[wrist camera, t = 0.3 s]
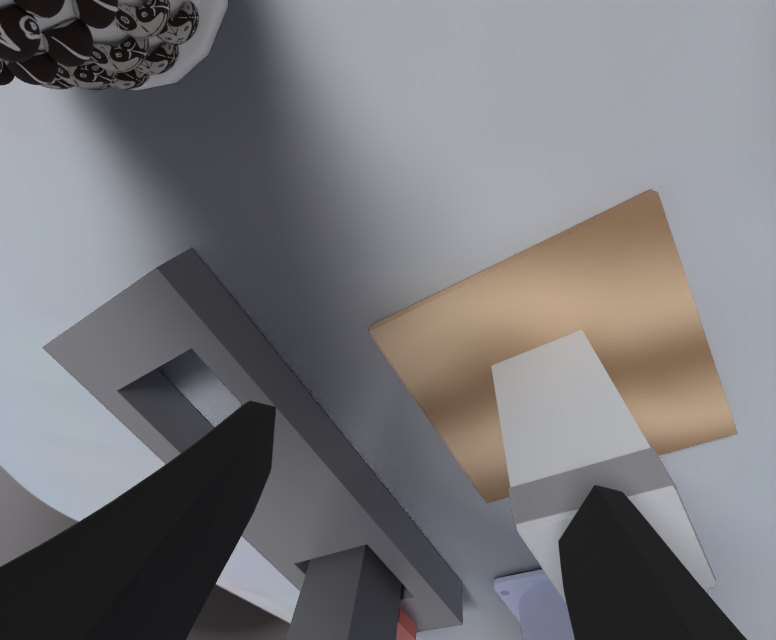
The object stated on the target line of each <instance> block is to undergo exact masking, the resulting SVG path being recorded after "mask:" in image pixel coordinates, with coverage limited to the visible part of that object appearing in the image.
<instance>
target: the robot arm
mask: <svg viewBox="0 0 776 640" xmlns="http://www.w3.org/2000/svg"><path fill="white" fill-rule="evenodd" d="M275 416H276V407H274V406H270V405H266V404H262V403H258V402H254V401H248V402H246V403H245V404H244V405H242V406H241V407H240V408H239V409H237V410H236V411H235V412H234V413H232V414H231V415H230V416H229V417H227V418H226V419H225V420H224V421H223V422H221V423H220V424H219V425H217V426H216V427H215V428H214V429H212V430H211V431H210V432H209V433H207V434H206V435H205V436H203V437H202V438H201V439H200V440H198V441H197V442H196V443H194V444H193V445H192V446H190V447H189V448H187V449H186V450H185V451H183V452H182V453H181V454H179V455H178V456H177V457H175V458H174V459H173V460H171V461H170V462H169V463H167V464H166V465H164V466H163V467H162V468H160V469H159V470H157V471H156V472H155V473H153V474H152V475H150V476H149V477H147V478H146V479H144V480H143V481H141V482H140V483H138V484H137V485H135V486H134V487H132V488H131V489H129V490H128V491H127V492H125V493H124V494H122V495H121V496H119V497H118V498H116V499H115V500H113V501H112V502H110V503H108V504H107V505H105V506H104V507H102V508H101V509H99V510H97V511H96V512H94V513H93V514H91V515H89V516H88V517H86V518H85V519H83V520H81V521H80V522H78V523H76V524H75V525H73V526H71V527H70V528H68V529H66V530H65V531H63V532H61V533H60V534H58V535H56V536H55V537H53V538H51V539H50V540H48V541H46V542H44V543H43V544H41V545H39V546H37V547H35V548H34V549H32V550H30V551H28V552H26V553H24V554H23V555H21V556H19V557H17V558H15V559H14V560H12V561H10V562H8V563H6V564H5V565H3V566H1V567H0V640H186V638H187V636H188V634H189V632H190V630H191V628H192V626H193V624H194V622H195V620H196V618H197V617H198V615H199V613H200V611H201V609H202V607H203V606H204V604H205V602H206V600H207V598H208V596H209V595H210V593H211V591H212V589H213V587H214V585H215V584H216V582H217V580H218V578H219V576H220V574H221V572H222V571H223V569H224V567H225V565H226V563H227V561H228V560H229V558H230V556H231V554H232V552H233V550H234V549H235V547H236V545H237V543H238V541H239V539H240V537H241V536H242V534H243V532H244V530H245V528H246V526H247V524H248V523H249V521H250V519H251V517H252V515H253V513H254V511H255V508H256V506H257V504H258V501H259V499H260V497H261V494H262V492H263V489H264V487H265V484H266V482H267V479H268V477H269V474H270V472H271V468H272V455H273V442H274V429H275ZM558 545H559V555H560V565H561V574H562V581H563V589H564V595H565V599H566V602H565V601H564V600H563V598H562V597H561V595H560V594H559V592H558V591H557V589H556V588H555V586H554V585H553V583H552V582H551V580H550V579H549V577H548V576H547V574H546V573H545V571H544V570H543V569H540V570H535V571H530V572H525V573H520V574H516V575H511V576H506V577H501V578H497V579H495V580H494V581H493V588H494V590H495V591H496V592H497V594H498V595H499V596H500V598H501V599H502V600H503V601H504V603H505V604H506V605H507V607H508V608H509V609H510V611H511V612H512V613H513V614H514V616H515V617H516V618H517V620H518V621H519V622H520V624H521V630H522V637H523V640H747V639H746V638H745V637H744V636H743V635H742V634H741V632H740V631H739V630H738V629H737V628H736V627H735V625H734V624H733V623H732V622H731V621H730V620H729V619H728V617H727V616H726V615H725V614H724V613H723V612H722V610H721V609H720V608H719V607H718V606H717V604H716V603H715V602H714V601H713V600H712V599H711V597H710V596H709V595H708V594H707V593H706V591H705V590H704V589H703V588H702V587H701V585H700V584H699V583H698V582H697V581H696V580H695V578H694V577H693V576H692V575H691V573H690V572H689V571H688V570H687V569H686V567H685V566H684V565H683V564H682V563H681V561H680V560H679V559H678V558H677V556H676V555H675V554H674V553H673V552H672V550H671V549H670V548H669V547H668V545H667V544H666V543H665V542H664V541H663V539H662V538H661V537H660V536H659V534H658V533H657V532H656V531H655V530H654V528H653V527H652V526H651V525H650V523H649V522H648V521H647V520H646V519H645V517H644V516H643V515H642V514H641V513H640V511H639V510H638V509H637V508H636V507H635V505H634V504H633V503H632V502H631V501H630V500H629V499H628V497H627V496H626V495H625V494H624V493H623V492H622V491H618V490H614V489H610V488H606V487H602V486H598V485H594V486H593V488H592V489H591V491H590V493H589V494H588V496H587V497H586V499H585V500H584V502H583V503H582V505H581V507H580V508H579V510H578V511H577V513H576V514H575V516H574V517H573V519H572V521H571V522H570V524H569V525H568V527H567V528H566V530H565V531H564V533H563V535H562V536H561V538H560V539H559V541H558Z"/></svg>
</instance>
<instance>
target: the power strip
mask: <svg viewBox="0 0 776 640" xmlns="http://www.w3.org/2000/svg"><path fill="white" fill-rule="evenodd" d="M42 348H43V349H44V350H45V351H46V352H47V353H49V354H50V355H51V356H52V357H53V358H54V359H55V360H56V361H57V362H58V363H59V364H60V365H61V366H62V367H63V368H64V369H65V370H67V371H68V372H69V373H70V374H71V375H72V376H73V377H74V378H75V379H76V380H77V381H78V382H79V383H80V384H81V385H82V386H83V387H85V388H86V389H87V390H88V391H89V392H90V393H91V394H92V395H93V396H94V397H95V398H96V399H97V400H98V401H99V402H100V403H101V404H103V405H104V406H105V407H106V408H107V409H108V410H109V411H110V412H111V413H112V414H113V415H114V416H115V417H116V418H117V419H118V420H119V421H120V422H122V423H123V424H124V425H125V426H126V427H127V428H128V429H129V430H130V431H131V432H132V433H133V434H134V435H135V436H136V437H137V438H138V439H140V440H141V441H142V442H143V443H144V444H145V445H146V446H147V447H148V448H149V449H150V450H151V451H152V452H153V453H154V454H155V455H156V456H158V457H159V458H160V459H161V460H162V461H163V462H164V463H165V464H167V463H169V462H170V461H171V460H173V459H174V458H175V457H177V456H178V455H179V454H181V453H182V452H183V451H185V450H186V449H187V448H189V447H190V446H192V445H193V444H194V443H196V442H197V441H198V440H200V439H201V438H202V437H203V436H205V435H206V434H207V433H209V432H210V431H211V430H212V429H214V427H213V426H212V425H211V424H210V423H209V422H208V421H207V420H206V419H205V418H204V417H203V416H202V415H201V414H200V413H199V412H198V411H197V410H196V409H195V408H194V406H193V405H192V404H191V403H190V402H189V401H188V400H187V399H186V398H185V397H184V396H183V395H182V394H181V393H180V392H179V391H178V390H177V389H176V388H175V387H174V386H173V384H172V383H171V382H170V381H169V380H168V379H167V378H166V377H165V376H164V375H163V374H162V373H161V372H160V371H159V370H158V369H157V368H158V367H160V366H161V365H163V364H165V363H167V362H168V361H170V360H172V359H174V358H176V357H177V356H179V355H181V354H183V353H184V352H186V351H188V350H190V349H191V348H192V349H193V350H194V352H195V353H196V354H197V355H198V356H199V357H200V358H201V359H202V361H203V362H204V363H205V364H206V365H207V366H208V367H209V368H210V369H211V371H212V372H213V373H214V374H215V375H216V376H217V377H218V378H219V379H220V381H221V382H222V383H223V384H224V385H225V386H226V387H227V388H228V390H229V391H230V392H231V393H232V394H233V395H234V396H235V397H236V398H237V400H238V401H239V402H240V403H241V404H242V405H244V404H245V403H246V402H248V401H254V402H258V403H262V404H266V405H270V406H274V407H276V416H275V429H274V442H273V455H272V468H271V472H270V474H269V477H268V479H267V482H266V484H265V487H264V489H263V492H262V494H261V497H260V499H259V501H258V504H257V506H256V508H255V511H254V513H253V515H252V517H251V519H250V521H249V523H248V524H247V526H246V528H245V530H244V532H243V534H242V537H243V538H244V539H245V540H246V541H247V542H249V543H250V544H251V545H252V546H253V547H254V548H255V549H256V550H257V551H258V552H259V553H260V554H261V555H262V556H263V557H264V558H265V559H267V560H268V561H269V562H270V563H271V564H272V565H273V566H274V567H275V568H276V569H277V570H278V571H279V572H280V573H281V574H282V575H283V576H285V577H286V578H287V579H288V580H289V581H290V582H291V583H292V584H293V585H294V586H295V587H296V588H297V589H298V590H299V591H300V592H301V588H302V585H303V582H304V578H305V575H306V572H307V569H308V565H309V562H310V559H314V558H317V557H321V556H325V555H329V554H332V553H336V552H340V551H344V550H347V549H351V548H355V547H359V546H362V545H366V544H367V545H368V546H369V547H370V548H371V549H372V550H373V551H374V552H375V554H376V555H377V556H378V557H379V558H380V559H381V560H382V561H383V562H384V564H385V565H386V566H387V567H388V568H389V569H390V570H391V571H392V573H393V574H394V575H395V576H396V577H397V578H398V579H399V580H400V581H401V583H402V585H401V595H400V605H399V615H398V625H397V635H396V640H416V632H420V631H426V630H432V629H438V628H444V627H450V626H456V625H462V624H463V616H462V582H461V580H460V579H459V578H458V577H457V575H456V574H455V573H454V572H453V571H452V569H451V568H450V567H449V566H448V564H447V563H446V562H445V561H444V559H443V558H442V557H441V556H440V554H439V553H438V552H437V551H436V549H435V548H434V547H433V546H432V545H431V543H430V542H429V541H428V540H427V538H426V537H425V536H424V535H423V533H422V532H421V531H420V530H419V528H418V527H417V526H416V525H415V523H414V522H413V521H412V520H411V519H410V517H409V516H408V515H407V514H406V512H405V511H404V510H403V509H402V507H401V506H400V505H399V504H398V502H397V501H396V500H395V499H394V497H393V496H392V495H391V494H390V492H389V491H388V490H387V489H386V488H385V486H384V485H383V484H382V483H381V481H380V480H379V479H378V478H377V476H376V475H375V474H374V473H373V471H372V470H371V469H370V468H369V466H368V465H367V464H366V463H365V462H364V460H363V459H362V458H361V457H360V455H359V454H358V453H357V452H356V450H355V449H354V448H353V447H352V445H351V444H350V443H349V442H348V440H347V439H346V438H345V437H344V436H343V434H342V433H341V432H340V431H339V429H338V428H337V427H336V426H335V424H334V423H333V422H332V421H331V419H330V418H329V417H328V416H327V414H326V413H325V412H324V411H323V409H322V408H321V407H320V406H319V405H318V403H317V402H316V401H315V400H314V398H313V397H312V396H311V395H310V393H309V392H308V391H307V390H306V388H305V387H304V386H303V385H302V383H301V382H300V381H299V380H298V379H297V377H296V376H295V375H294V374H293V372H292V371H291V370H290V369H289V367H288V366H287V365H286V364H285V362H284V361H283V360H282V359H281V357H280V356H279V355H278V354H277V353H276V351H275V350H274V349H273V348H272V346H271V345H270V344H269V343H268V341H267V340H266V339H265V338H264V336H263V335H262V334H261V333H260V331H259V330H258V329H257V328H256V326H255V325H254V324H253V323H252V322H251V320H250V319H249V318H248V317H247V315H246V314H245V313H244V312H243V310H242V309H241V308H240V307H239V305H238V304H237V303H236V302H235V300H234V299H233V298H232V297H231V296H230V294H229V293H228V292H227V291H226V289H225V288H224V287H223V286H222V284H221V283H220V282H219V281H218V279H217V278H216V277H215V276H214V274H213V273H212V272H211V271H210V270H209V268H208V267H207V266H206V265H205V263H204V262H203V261H202V260H201V258H200V257H199V256H198V255H197V253H196V252H195V251H194V250H193V248H190V249H189V250H187V251H185V252H183V253H181V254H180V255H178V256H176V257H174V258H173V259H171V260H169V261H167V262H166V263H164V264H162V265H160V266H159V267H157V268H155V269H154V270H152V271H151V272H150V273H148V274H147V275H145V276H144V277H142V278H141V279H139V280H138V281H137V282H135V283H134V284H132V285H131V286H129V287H128V288H127V289H125V290H124V291H122V292H121V293H119V294H118V295H117V296H115V297H114V298H112V299H111V300H109V301H108V302H106V303H105V304H104V305H102V306H101V307H99V308H98V309H96V310H95V311H94V312H92V313H91V314H89V315H88V316H86V317H85V318H84V319H82V320H81V321H79V322H78V323H76V324H75V325H74V326H72V327H71V328H69V329H68V330H66V331H65V332H63V333H62V334H61V335H59V336H58V337H56V338H55V339H53V340H52V341H51V342H49V343H48V344H46V345H45V346H43V347H42Z"/></svg>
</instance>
